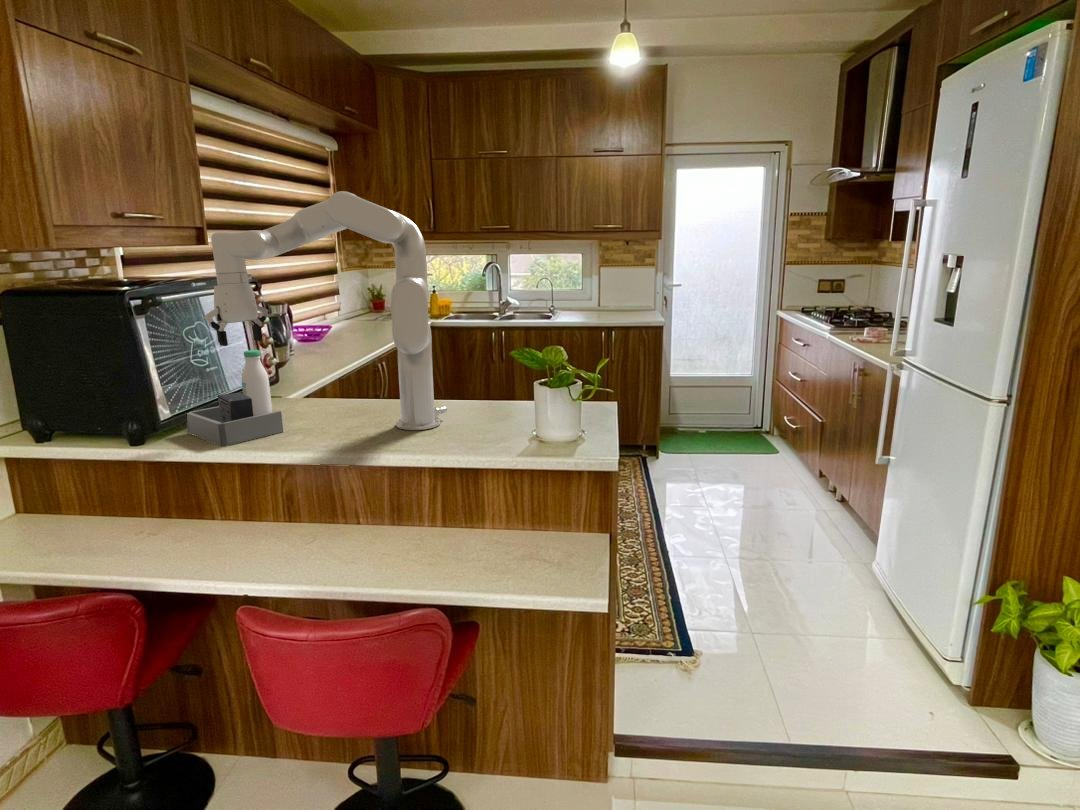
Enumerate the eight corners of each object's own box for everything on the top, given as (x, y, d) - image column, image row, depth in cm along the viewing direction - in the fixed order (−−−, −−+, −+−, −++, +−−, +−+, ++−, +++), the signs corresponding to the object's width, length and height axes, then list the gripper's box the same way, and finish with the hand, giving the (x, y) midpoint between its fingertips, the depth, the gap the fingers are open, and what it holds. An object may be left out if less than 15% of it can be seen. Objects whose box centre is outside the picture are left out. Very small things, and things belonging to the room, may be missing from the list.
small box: (257, 434, 186) (253, 397, 183) (233, 438, 182) (228, 401, 179) (244, 426, 194) (240, 391, 191) (221, 430, 190) (216, 394, 187)
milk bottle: (277, 411, 210) (270, 348, 205) (264, 418, 203) (257, 352, 198) (253, 411, 211) (246, 348, 206) (240, 417, 203) (232, 352, 199)
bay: (246, 420, 200) (244, 401, 198) (283, 432, 187) (281, 411, 186) (187, 433, 187) (184, 412, 185) (222, 446, 174) (220, 424, 173)
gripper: (255, 277, 187) (263, 338, 191) (193, 281, 174) (203, 346, 178) (269, 277, 183) (277, 339, 187) (206, 282, 170) (216, 348, 174)
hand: (241, 343), depth 183 cm, fingers open, 9 cm apart
